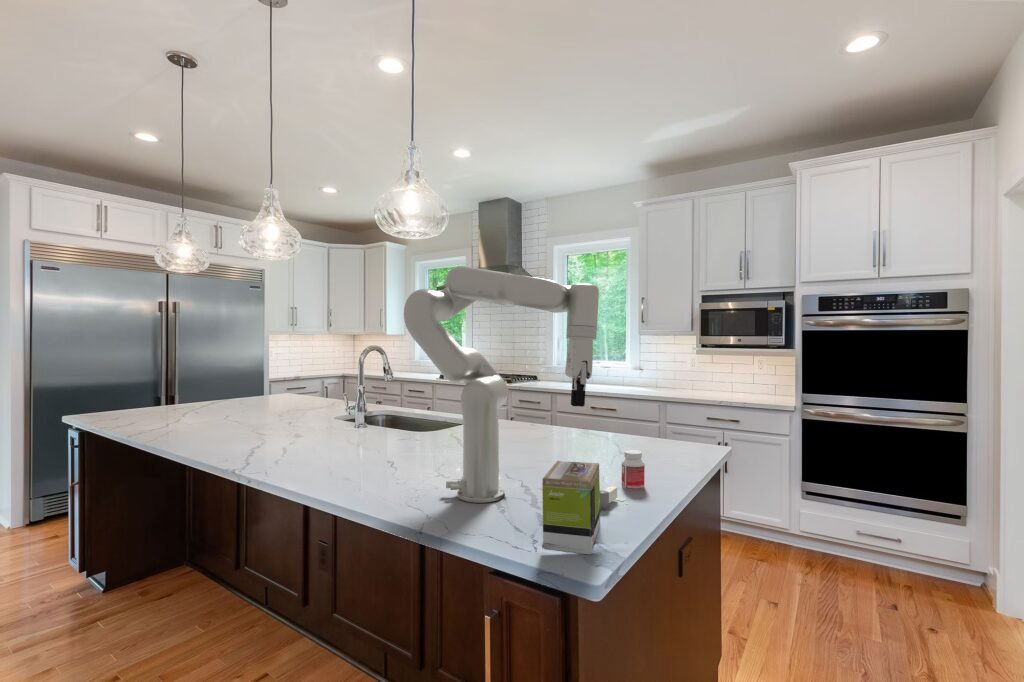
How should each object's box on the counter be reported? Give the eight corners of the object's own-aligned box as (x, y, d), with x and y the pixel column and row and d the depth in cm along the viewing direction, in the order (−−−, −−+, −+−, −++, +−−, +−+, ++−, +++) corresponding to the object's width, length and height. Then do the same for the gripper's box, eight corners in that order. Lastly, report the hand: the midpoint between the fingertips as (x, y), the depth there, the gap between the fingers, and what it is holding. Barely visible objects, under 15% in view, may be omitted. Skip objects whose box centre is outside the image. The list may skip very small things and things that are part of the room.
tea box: (556, 523, 115) (557, 458, 115) (601, 528, 112) (601, 462, 112) (541, 550, 100) (541, 475, 100) (591, 556, 97) (592, 480, 97)
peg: (606, 511, 119) (606, 494, 119) (594, 508, 121) (594, 492, 121) (619, 501, 126) (619, 486, 126) (608, 498, 128) (608, 484, 128)
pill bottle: (649, 492, 138) (649, 452, 138) (633, 496, 135) (633, 455, 135) (632, 487, 143) (632, 448, 143) (616, 490, 140) (617, 451, 140)
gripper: (561, 332, 134) (557, 401, 134) (573, 332, 119) (569, 410, 119) (588, 333, 134) (585, 402, 135) (604, 334, 120) (599, 411, 120)
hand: (577, 405), depth 127 cm, fingers closed
